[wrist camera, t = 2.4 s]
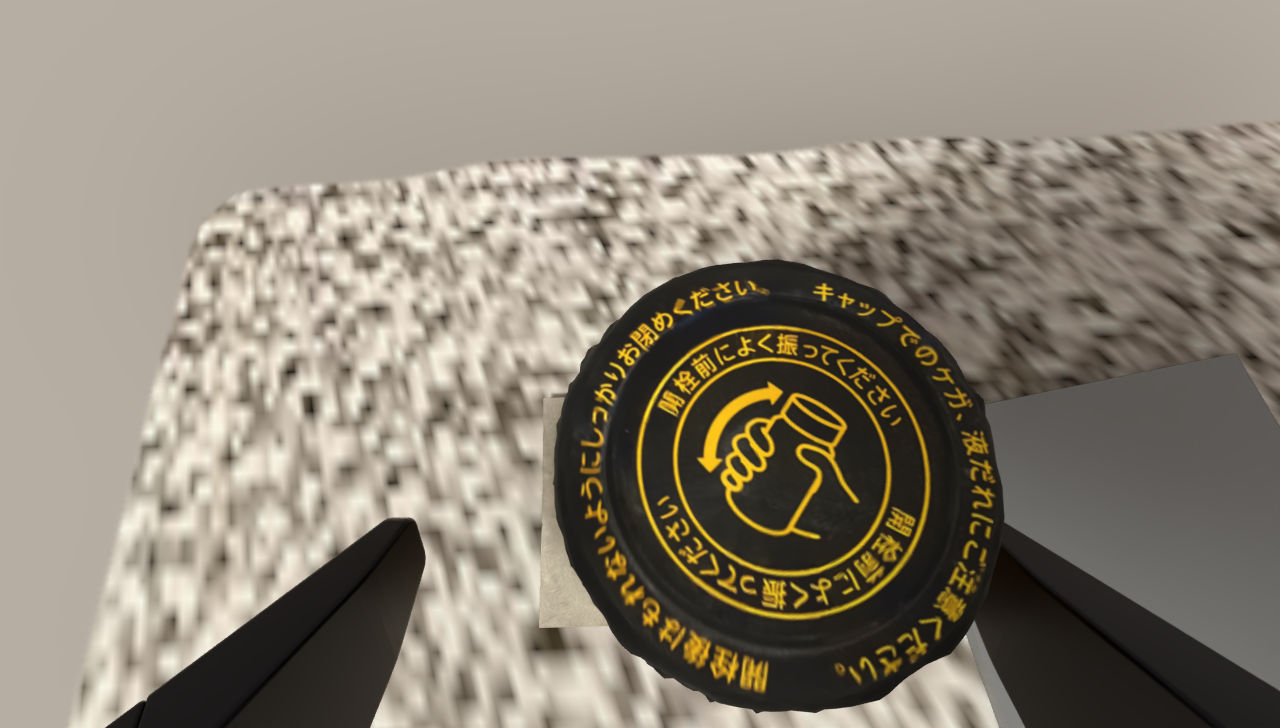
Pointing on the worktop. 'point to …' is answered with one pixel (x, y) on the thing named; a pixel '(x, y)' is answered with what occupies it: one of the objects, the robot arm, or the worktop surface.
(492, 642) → the worktop surface
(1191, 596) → the mat
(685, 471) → the condiment
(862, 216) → the worktop surface
